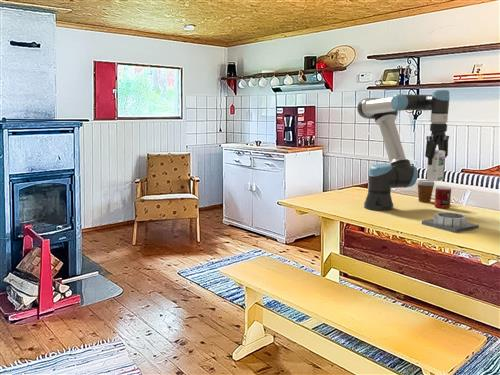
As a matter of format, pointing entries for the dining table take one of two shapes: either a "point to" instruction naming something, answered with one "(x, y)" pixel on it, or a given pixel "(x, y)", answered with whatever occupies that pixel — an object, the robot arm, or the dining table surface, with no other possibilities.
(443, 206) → the canned food
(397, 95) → the robot arm
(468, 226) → the ring plate
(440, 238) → the dining table surface
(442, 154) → the syrup box
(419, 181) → the disposable coffee cup
